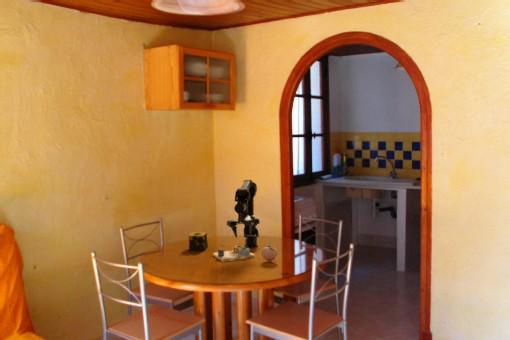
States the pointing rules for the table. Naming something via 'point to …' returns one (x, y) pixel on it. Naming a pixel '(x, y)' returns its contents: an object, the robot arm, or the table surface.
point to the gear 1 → (235, 248)
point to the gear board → (231, 255)
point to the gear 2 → (243, 251)
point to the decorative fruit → (269, 253)
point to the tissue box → (198, 241)
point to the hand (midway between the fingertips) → (243, 236)
